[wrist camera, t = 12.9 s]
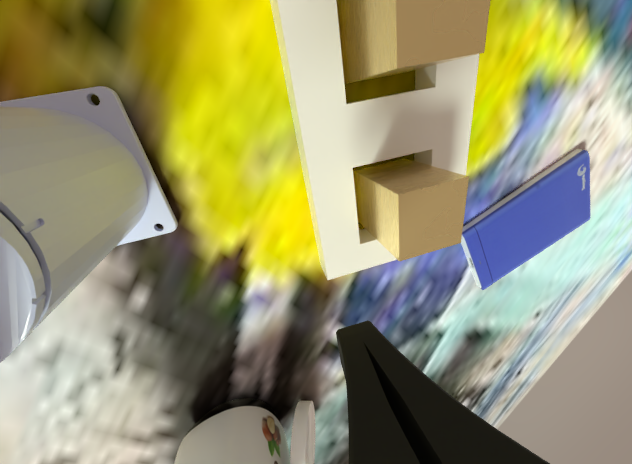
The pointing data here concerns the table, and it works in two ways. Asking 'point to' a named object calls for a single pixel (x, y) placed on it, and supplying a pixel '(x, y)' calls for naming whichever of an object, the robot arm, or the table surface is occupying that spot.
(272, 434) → the spread jar
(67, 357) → the table surface
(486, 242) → the hard drive
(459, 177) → the block
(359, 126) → the frame
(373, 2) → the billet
